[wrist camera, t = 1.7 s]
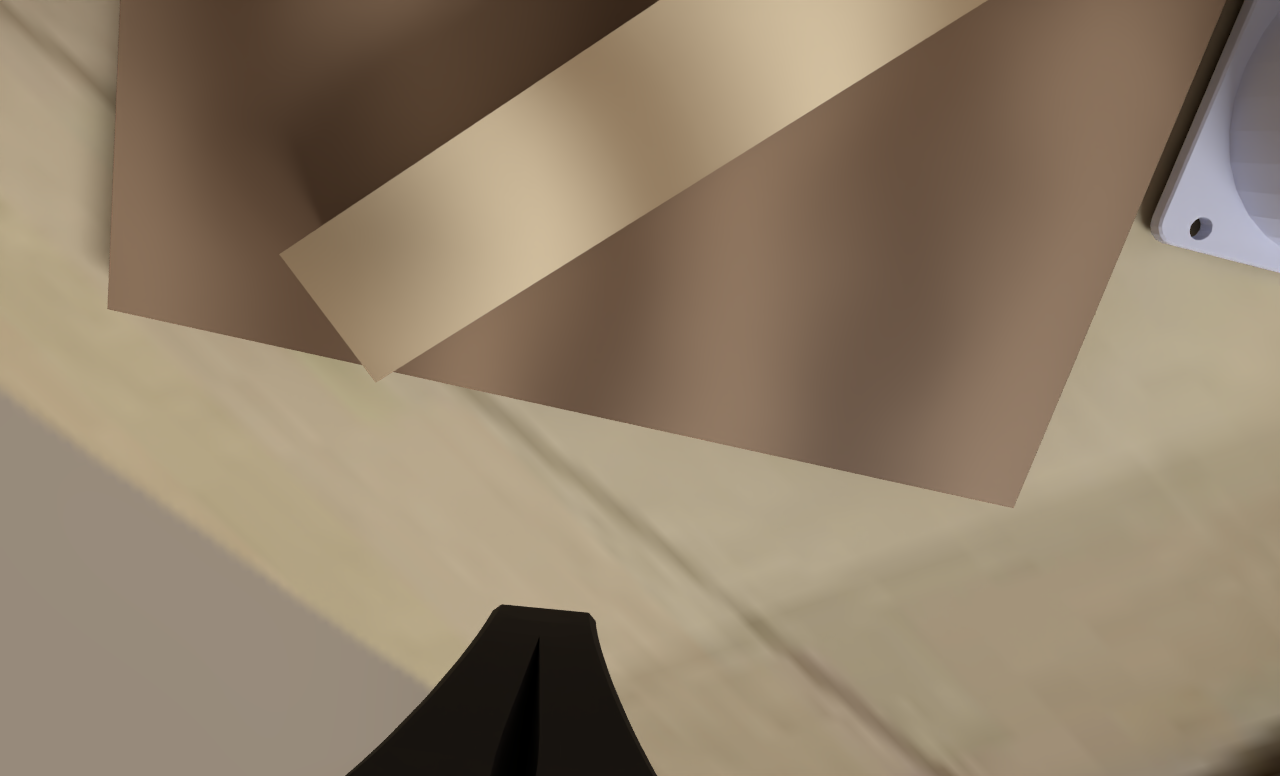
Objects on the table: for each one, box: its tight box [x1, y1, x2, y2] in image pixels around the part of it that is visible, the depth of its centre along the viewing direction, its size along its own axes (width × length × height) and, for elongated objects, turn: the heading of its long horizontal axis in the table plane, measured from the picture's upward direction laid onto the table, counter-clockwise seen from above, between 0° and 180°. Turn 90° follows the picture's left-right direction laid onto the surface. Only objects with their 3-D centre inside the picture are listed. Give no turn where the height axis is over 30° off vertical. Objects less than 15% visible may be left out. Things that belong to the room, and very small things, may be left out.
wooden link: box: [279, 0, 987, 382], centre depth 14 cm, size 18×4×5 cm, turn 121°
